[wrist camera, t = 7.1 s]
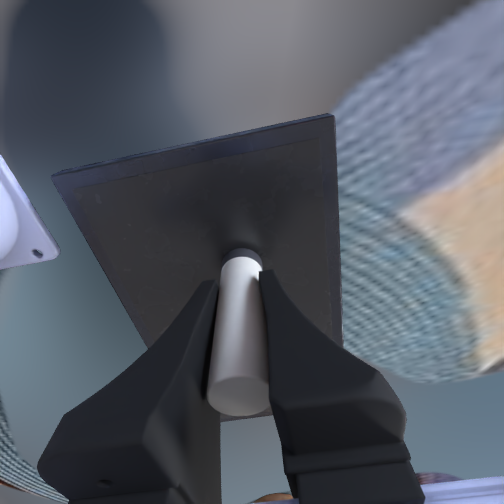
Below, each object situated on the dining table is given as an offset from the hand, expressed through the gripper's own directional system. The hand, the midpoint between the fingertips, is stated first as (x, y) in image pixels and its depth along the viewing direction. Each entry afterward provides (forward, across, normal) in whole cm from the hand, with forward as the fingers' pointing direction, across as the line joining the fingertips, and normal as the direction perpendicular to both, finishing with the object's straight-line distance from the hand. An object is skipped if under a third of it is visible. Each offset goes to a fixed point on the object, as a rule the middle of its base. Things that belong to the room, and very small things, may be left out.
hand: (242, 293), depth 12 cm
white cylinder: (+2, 0, 0) cm, 2 cm away
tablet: (+3, +1, +4) cm, 5 cm away
